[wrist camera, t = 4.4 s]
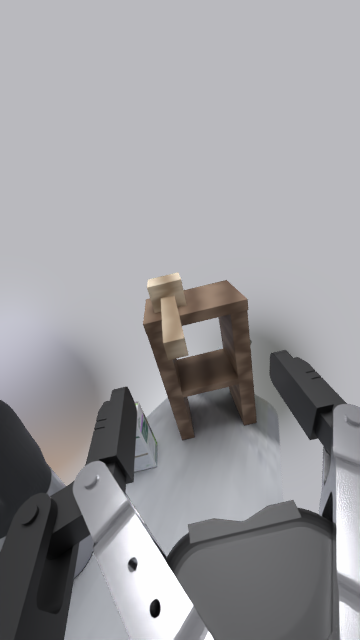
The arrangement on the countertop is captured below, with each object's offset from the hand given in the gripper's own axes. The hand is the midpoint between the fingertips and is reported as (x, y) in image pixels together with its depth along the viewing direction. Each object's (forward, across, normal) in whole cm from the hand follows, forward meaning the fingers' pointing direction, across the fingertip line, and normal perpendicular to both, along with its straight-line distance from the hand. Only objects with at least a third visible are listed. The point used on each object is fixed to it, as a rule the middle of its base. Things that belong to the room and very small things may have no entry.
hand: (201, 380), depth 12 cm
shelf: (+27, +3, -41) cm, 49 cm away
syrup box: (+19, -15, -41) cm, 48 cm away
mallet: (+22, -1, -9) cm, 23 cm away
